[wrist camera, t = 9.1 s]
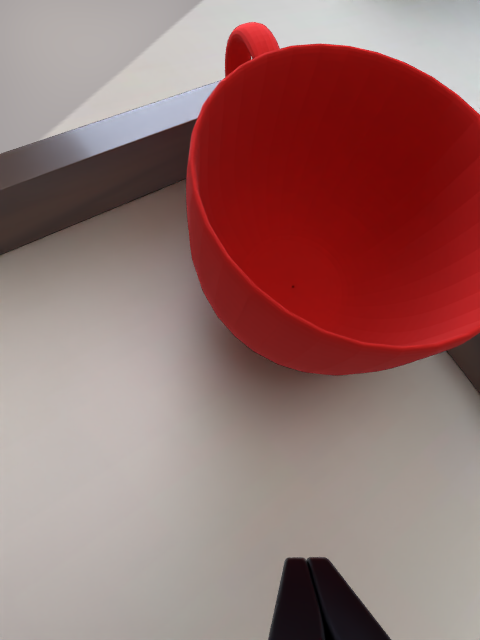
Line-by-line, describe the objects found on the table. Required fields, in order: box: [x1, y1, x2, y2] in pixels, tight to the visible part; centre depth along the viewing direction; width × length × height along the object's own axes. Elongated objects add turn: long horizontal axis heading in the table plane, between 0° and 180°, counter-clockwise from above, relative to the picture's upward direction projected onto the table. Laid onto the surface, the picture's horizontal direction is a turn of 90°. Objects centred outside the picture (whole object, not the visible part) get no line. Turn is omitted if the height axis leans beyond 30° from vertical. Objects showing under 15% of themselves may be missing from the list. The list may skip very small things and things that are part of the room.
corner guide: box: [0, 80, 480, 393], centre depth 21 cm, size 26×22×4 cm
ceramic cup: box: [186, 22, 480, 375], centre depth 20 cm, size 13×17×10 cm
